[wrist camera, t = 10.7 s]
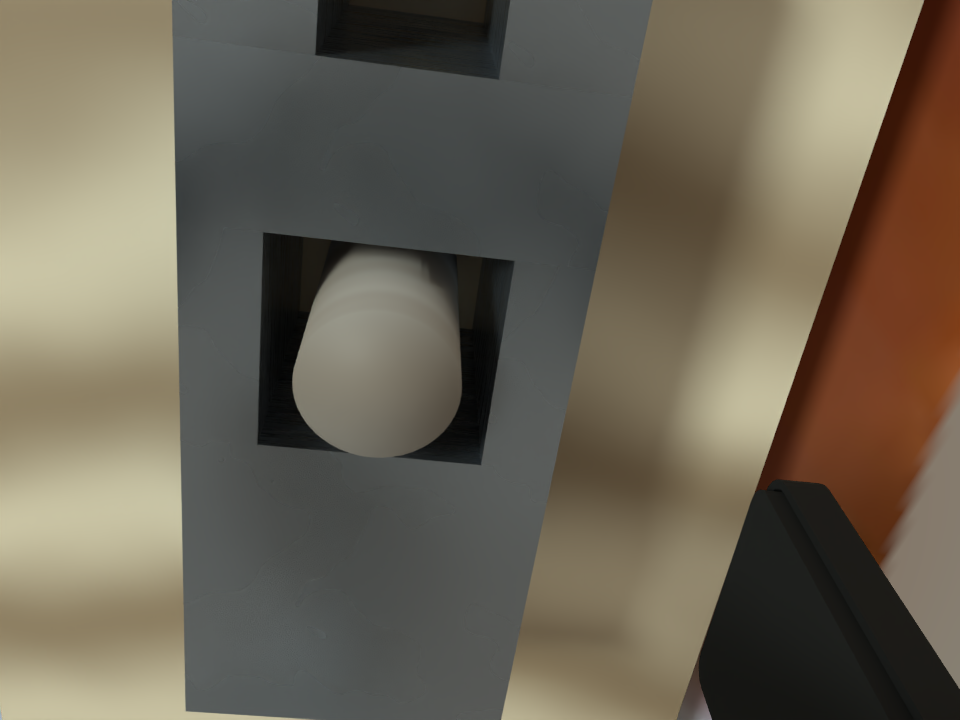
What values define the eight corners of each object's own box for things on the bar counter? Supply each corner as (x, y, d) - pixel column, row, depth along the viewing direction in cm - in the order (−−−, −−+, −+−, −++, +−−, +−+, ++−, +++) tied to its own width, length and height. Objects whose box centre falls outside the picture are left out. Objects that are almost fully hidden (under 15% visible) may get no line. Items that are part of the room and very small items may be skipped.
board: (618, 796, 30) (673, 1084, 23) (44, 762, 28) (-90, 1063, 21) (938, -203, 17) (1296, -253, 10) (-94, -386, 15) (-566, -608, 8)
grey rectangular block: (487, 561, 22) (498, 731, 18) (237, 540, 22) (185, 711, 17) (623, -200, 15) (700, -228, 11) (250, -262, 14) (165, -319, 10)
